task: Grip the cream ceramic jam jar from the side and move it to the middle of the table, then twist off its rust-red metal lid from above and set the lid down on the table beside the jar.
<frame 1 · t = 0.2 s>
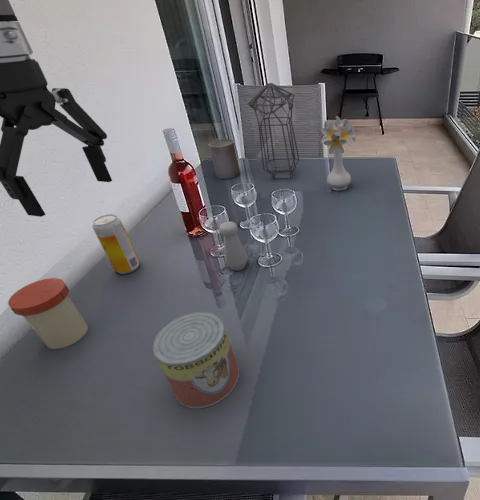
hand: (74, 196, 61), 30 cm above the table, tool pointing down, fingers open, 13 cm apart
jam jar: (67, 335, 74), on the table
pillar candle: (228, 175, 146), on the table
flower vase: (340, 188, 133), on the table
canned food: (208, 380, 65), on the table
geometric lantern: (283, 175, 145), on the table
beer can: (128, 268, 94), on the table
salt shaker: (238, 266, 93), on the table
lid: (38, 294, 68), point 12 cm above the table, screwed on, not yet turned
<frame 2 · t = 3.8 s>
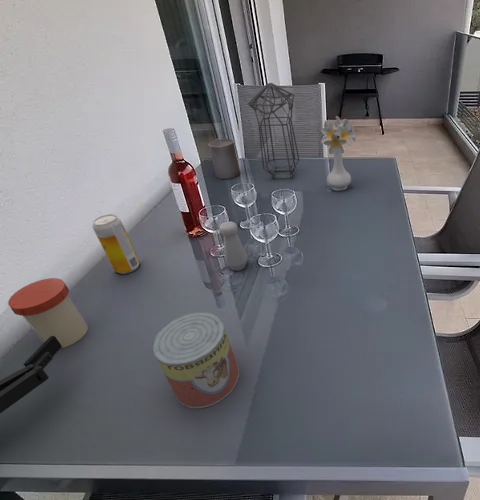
hand: (19, 344, 64), 7 cm above the table, tool horizontal, fingers open, 13 cm apart
nothing on the table moved.
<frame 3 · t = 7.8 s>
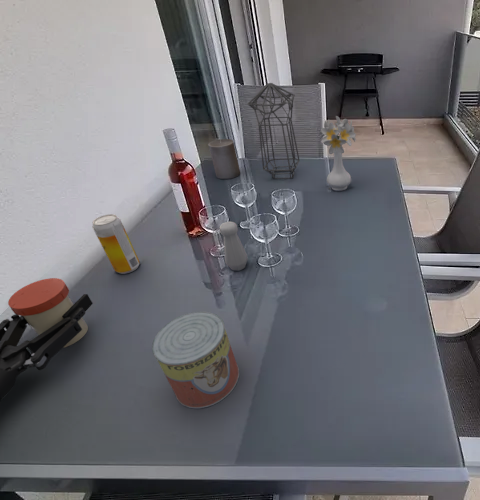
hand: (69, 298, 75), 6 cm above the table, tool horizontal, fingers closed on jam jar, 8 cm apart
jam jar: (67, 335, 74), on the table, touching gripper
everything else where it was.
when the fingers open (6 cm above the table, at t = 15.7 s): jam jar stays where it is, on the table.
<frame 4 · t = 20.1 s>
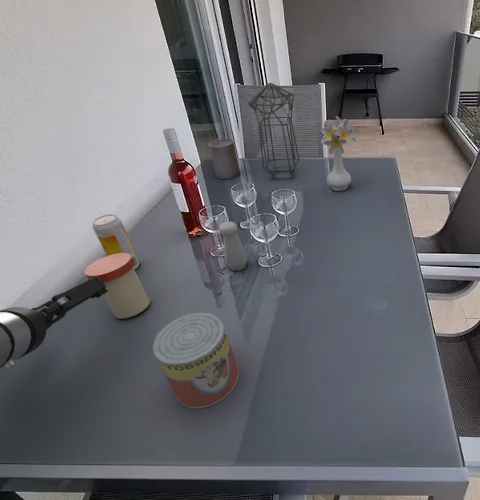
hand: (71, 309, 70), 8 cm above the table, tool tilted 60°, fingers open, 13 cm apart
jam jar: (132, 307, 80), on the table, tilted 6°
lid: (109, 265, 75), point 12 cm above the table, tilted 6°, turned -3° so far, risen 0.0 cm, still on its thread, touching gripper
everything else where it was.
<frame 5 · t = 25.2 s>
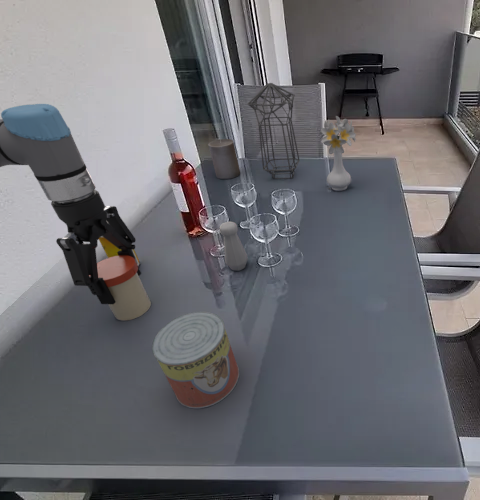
hand: (122, 287, 77), 6 cm above the table, tool pointing down, fingers closed on lid, 9 cm apart
jam jar: (133, 308, 81), on the table
lid: (112, 268, 74), point 12 cm above the table, screwed on, not yet turned, touching gripper
everything else where it was.
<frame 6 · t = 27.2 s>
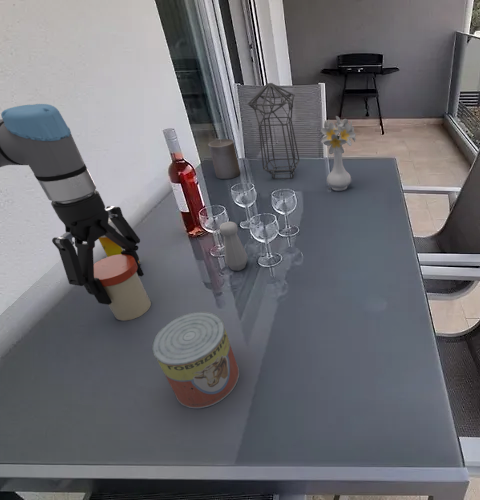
hand: (122, 287, 77), 6 cm above the table, tool pointing down, fingers closed on lid, 9 cm apart
lid: (111, 267, 74), point 12 cm above the table, off its thread, touching gripper
everything else where it was.
when the fingers open (0 cm above the table, at t = 35.6 s): lid drops 4 cm, point 1 cm above the table.
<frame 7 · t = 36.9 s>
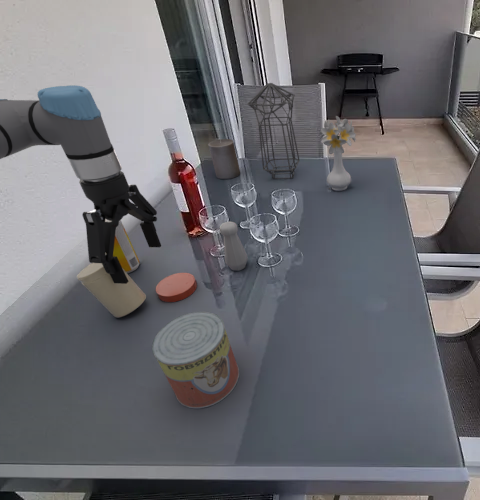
hand: (139, 263, 79), 10 cm above the table, tool pointing down, fingers open, 13 cm apart
jam jar: (130, 305, 80), point 1 cm above the table, tilted 18°
lid: (176, 285, 85), point 1 cm above the table, off its thread
everything else where it was.
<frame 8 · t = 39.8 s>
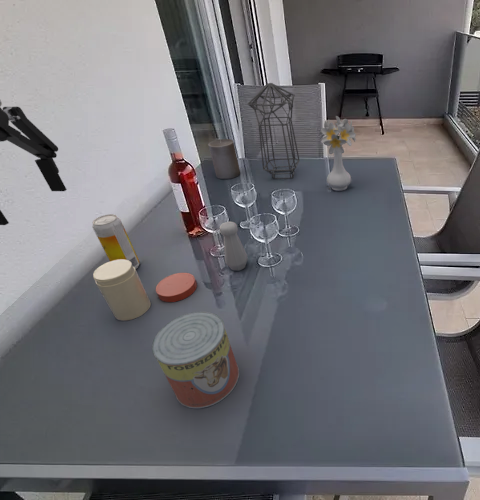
hand: (32, 206, 66), 27 cm above the table, tool pointing down, fingers open, 13 cm apart
jam jar: (132, 308, 81), on the table
everything else where it was.
at the end: lid came off its thread; lid point 1.5 cm above the table; jam jar inside the target area (0.1 cm from its centre), on the table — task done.
